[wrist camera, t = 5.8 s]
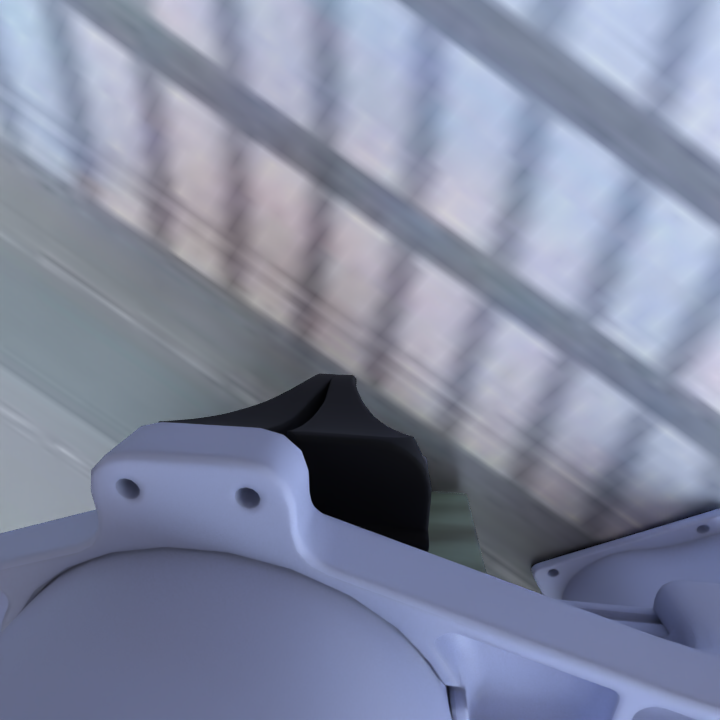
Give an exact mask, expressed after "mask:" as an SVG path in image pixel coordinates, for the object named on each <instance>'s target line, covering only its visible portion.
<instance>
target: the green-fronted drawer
mask: <svg viewBox="0 0 720 720" xmlns="http://www.w3.org/2000/svg"><path fill="white" fill-rule="evenodd" d="M423 458H424V461H425V463H426V467H427V470H428V462H427V458H426V457H425V456H423ZM428 534H429V551H428V553H431V554H434V555H437V556H439V557H442V558H445V559H447V560H450V561H453V562H456V563H458V564H461V565H464V566H466V567H469V568H472V569H474V570H477V571H480V572H483V573H485V574H487V573H486V569H485V565H484V561H483V557H482V553H481V549H480V546H479V542H478V538H477V534H476V530H475V526H474V522H473V518H472V514H471V510H470V506H469V502H468V498H467V494H462V493H448V492H434V491H431V505H430V515H429V526H428Z"/></svg>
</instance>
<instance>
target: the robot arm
mask: <svg viewBox="0 0 720 720" xmlns="http://www.w3.org/2000/svg"><path fill="white" fill-rule="evenodd" d="M91 492H92V496H93V500H94V503H95V506H96V510H92V511H88V512H84V513H80V514H76V515H72V516H68V517H64V518H60V519H56V520H52V521H48V522H44V523H40V524H36V525H32V526H28V527H24V528H20V529H16V530H12V531H8V532H4V533H0V720H720V509H716V510H712V511H709V512H706V513H702V514H699V515H696V516H693V517H689V518H686V519H683V520H679V521H676V522H673V523H669V524H666V525H663V526H659V527H656V528H653V529H649V530H646V531H643V532H639V533H636V534H633V535H630V536H626V537H623V538H620V539H616V540H613V541H610V542H606V543H603V544H600V545H596V546H593V547H590V548H586V549H583V550H580V551H577V552H573V553H570V554H567V555H563V556H560V557H557V558H553V559H550V560H547V561H543V562H540V563H537V564H535V565H534V566H533V567H532V569H531V571H532V574H533V577H534V579H535V581H536V583H537V585H538V587H539V588H540V590H541V592H542V594H543V595H542V594H540V593H537V592H534V591H531V590H529V589H526V588H523V587H521V586H518V585H515V584H512V583H510V582H507V581H504V580H502V579H499V578H496V577H493V576H491V575H488V574H485V573H483V572H480V571H477V570H474V569H472V568H469V567H466V566H464V565H461V564H458V563H456V562H453V561H450V560H447V559H445V558H442V557H439V556H437V555H434V554H431V553H428V551H429V534H428V526H429V515H430V505H431V481H430V477H429V473H428V470H427V467H426V463H425V461H424V458H423V456H422V453H421V451H420V449H419V447H418V444H417V442H416V440H415V439H414V437H412V436H409V435H406V434H403V433H400V432H398V431H395V430H393V429H391V428H390V427H388V426H386V425H384V424H383V423H381V422H380V421H379V420H378V419H376V418H375V417H374V416H373V415H372V414H371V413H370V411H369V410H368V409H367V407H366V406H365V404H364V403H363V401H362V399H361V397H360V395H359V393H358V390H357V387H356V378H355V377H354V376H353V375H335V374H318V375H315V376H313V377H312V378H310V379H308V380H306V381H305V382H303V383H301V384H300V385H298V386H296V387H294V388H293V389H291V390H289V391H287V392H285V393H283V394H281V395H279V396H277V397H275V398H273V399H270V400H268V401H266V402H263V403H260V404H258V405H255V406H252V407H249V408H245V409H242V410H238V411H234V412H230V413H226V414H222V415H216V416H211V417H204V418H197V419H188V420H175V421H159V422H158V423H154V424H149V425H144V426H141V427H139V428H138V429H137V430H136V431H134V432H133V433H132V434H131V435H129V436H128V437H127V438H126V439H125V440H123V441H122V442H121V443H120V444H118V445H117V446H116V447H115V448H113V449H112V450H111V451H110V452H108V453H107V454H106V455H105V456H104V457H103V458H102V459H101V460H100V461H99V462H98V463H97V464H96V466H95V467H94V468H93V469H92V470H91ZM551 569H553V570H551Z"/></svg>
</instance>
